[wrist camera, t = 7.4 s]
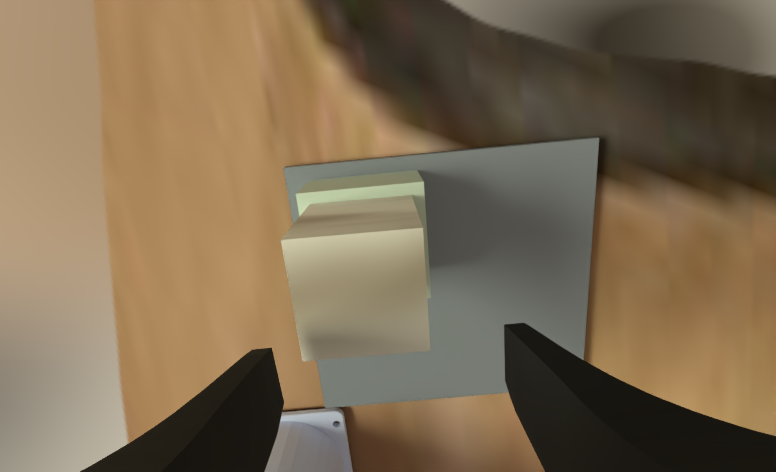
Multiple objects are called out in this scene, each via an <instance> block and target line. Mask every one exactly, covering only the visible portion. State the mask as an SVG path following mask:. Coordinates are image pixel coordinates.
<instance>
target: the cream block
mask: <svg viewBox="0 0 776 472" xmlns="http://www.w3.org/2000/svg"><path fill="white" fill-rule="evenodd" d="M281 244H282V249H283V255H284V260H285V266H286V272H287V277H288V283H289V288H290V294H291V299H292V305H293V311H294V316H295V322H296V327H297V333H298V339H299V344H300V350H301V355H302V361H313V360H325V359H338V358H350V357H362V356H374V355H386V354H398V353H411V352H423V351H431V350H430V334H429V318H428V301H427V285H426V269H425V253H424V236H423V226H422V224H421V221H420V218H419V215H418V212H417V209H416V206H415V204H414V201H413V198H412V195H405V196H394V197H382V198H371V199H360V200H348V201H337V202H325V203H314V204H309V206H308V207H307V208H306V209H305V211H304V212H303V213H302V214H301V215H300V217H299V218H298V219H297V220H296V222H295V223H294V224H293V225H292V227H291V228H290V229H289V230H288V232H287V233H286V234H285V235H284V237H283V238H282V239H281Z"/></svg>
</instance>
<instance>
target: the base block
mask: <svg viewBox="0 0 776 472" xmlns="http://www.w3.org/2000/svg"><path fill="white" fill-rule="evenodd" d="M405 195H412V198H413V201H414V204H415V206H416V209H417V212H418V215H419V218H420V221H421V224H422V226H423V236H424V253H425V269H426V285H427V298H431V285H430V270H429V254H428V239H427V224H426V208H425V193H424V181H423V180H422V178H421V176H420V174H419V173H418V171H417V170H412V171H402V172H391V173H381V174H370V175H360V176H349V177H339V178H328V179H318V180H310V181H309V182H308V183H307V184H306V185H304V186H303V187H302V188H301V189H300V190H299V191H298V192H297V193H296V199H297V205H298V211H299V217H300V215H301V214H302V213H303V212H304V211H305V209H306V208H307V207H308V206H309V204H314V203H325V202H337V201H348V200H360V199H371V198H382V197H394V196H405Z"/></svg>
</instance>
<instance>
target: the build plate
mask: <svg viewBox="0 0 776 472" xmlns="http://www.w3.org/2000/svg"><path fill="white" fill-rule="evenodd" d="M598 149H599V138H596V137H589V138H579V139H568V140H558V141H548V142H537V143H527V144H516V145H506V146H495V147H485V148H474V149H464V150H454V151H443V152H433V153H422V154H412V155H401V156H391V157H380V158H370V159H359V160H349V161H339V162H328V163H318V164H307V165H297V166H286V167H284V174H285V180H286V186H287V191H288V197H289V203H290V209H291V214H292V220H293V224H294V223H295V222H296V220H297V219H298V218H299V211H298V205H297V199H296V193H297V192H298V191H299V190H300V189H301V188H302V187H303V186H304V185H306V184H307V183H308V182H309V181H310V180H318V179H328V178H339V177H349V176H360V175H370V174H381V173H391V172H402V171H412V170H417V171H418V173H419V174H420V176H421V178H422V180H423V181H424V193H425V208H426V224H427V239H428V254H429V270H430V285H431V298H427V301H428V318H429V334H430V350H431V351H423V352H411V353H398V354H386V355H374V356H362V357H350V358H338V359H325V360H317V364H318V370H319V376H320V381H321V387H322V393H323V399H324V405H325V408H334V407H346V406H357V405H369V404H381V403H392V402H404V401H416V400H427V399H439V398H451V397H462V396H474V395H486V394H497V393H509V391H508V388H507V385H506V382H505V353H504V325H505V324H515V323H526V324H527V325H529V326H531V327H532V328H534V329H535V330H537V331H538V332H540V333H541V334H543V335H544V336H546V337H547V338H549V339H550V340H552V341H553V342H555V343H557V344H558V345H560V346H561V347H563V348H564V349H566V350H567V351H569V352H571V353H572V354H574V355H576V356H577V357H579V358H581V359H582V360H584V348H585V334H586V320H587V305H588V291H589V277H590V263H591V248H592V234H593V220H594V206H595V191H596V177H597V163H598Z"/></svg>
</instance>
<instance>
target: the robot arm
mask: <svg viewBox="0 0 776 472" xmlns="http://www.w3.org/2000/svg"><path fill="white" fill-rule="evenodd" d="M504 353H505V382H506V385H507V388H508V391H509V394H510V397H511V400H512V403H513V406H514V408H515V411H516V413H517V415H518V417H519V419H520V421H521V424H522V426H523V428H524V430H525V432H526V434H527V436H528V438H529V440H530V442H531V444H532V446H533V448H534V450H535V452H536V454H537V456H538V458H539V460H540V462H541V464H542V466H543V468H544V470H545V472H776V436H773V435H769V434H765V433H761V432H757V431H754V430H750V429H747V428H743V427H740V426H737V425H734V424H731V423H727V422H724V421H721V420H718V419H715V418H712V417H709V416H706V415H703V414H700V413H697V412H694V411H692V410H689V409H686V408H684V407H681V406H679V405H676V404H673V403H671V402H668V401H666V400H663V399H661V398H658V397H656V396H653V395H651V394H649V393H646V392H644V391H642V390H640V389H638V388H636V387H634V386H631V385H629V384H627V383H625V382H623V381H621V380H619V379H617V378H615V377H613V376H611V375H609V374H607V373H605V372H603V371H602V370H600V369H598V368H596V367H594V366H593V365H591V364H589V363H587V362H586V361H584V360H582V359H581V358H579V357H577V356H576V355H574V354H572V353H571V352H569V351H567V350H566V349H564V348H563V347H561V346H560V345H558V344H557V343H555V342H553V341H552V340H550V339H549V338H547V337H546V336H544V335H543V334H541V333H540V332H538V331H537V330H535V329H534V328H532V327H531V326H529V325H527V324H526V323H515V324H505V325H504ZM283 405H284V400H283V396H282V392H281V387H280V383H279V378H278V374H277V369H276V365H275V360H274V356H273V352H272V348H265V349H255V350H251V351H250V352H249V353H247V354H246V355H245V356H243V357H242V358H241V359H240V360H239V361H237V362H236V363H235V364H234V365H233V366H231V367H230V368H229V369H228V370H227V371H226V372H224V373H223V374H222V375H221V376H220V377H218V378H217V379H216V380H215V381H214V382H212V383H211V384H210V385H209V386H208V387H206V388H205V389H204V390H203V391H202V392H200V393H199V394H198V395H196V396H195V397H194V398H193V399H191V400H190V401H189V402H187V403H186V404H185V405H184V406H182V407H181V408H180V409H178V410H177V411H176V412H175V413H173V414H172V415H171V416H169V417H168V418H166V419H165V420H164V421H162V422H161V423H159V424H158V425H156V426H155V427H154V428H152V429H151V430H149V431H147V432H146V433H144V434H143V435H141V436H140V437H138V438H137V439H135V440H134V441H132V442H131V443H129V444H127V445H126V446H124V447H122V448H120V449H119V450H117V451H115V452H114V453H112V454H110V455H109V456H107V457H105V458H103V459H102V460H100V461H98V462H97V463H95V464H93V465H92V466H90V467H88V468H86V469H84V470H82V471H80V472H353V468H352V462H351V456H350V449H349V443H348V436H347V430H346V424H345V417H344V412H343V411H342V410H341V409H339V408H326V409H315V410H303V411H291V412H282V410H283ZM334 421H339V423H335V422H334Z"/></svg>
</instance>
